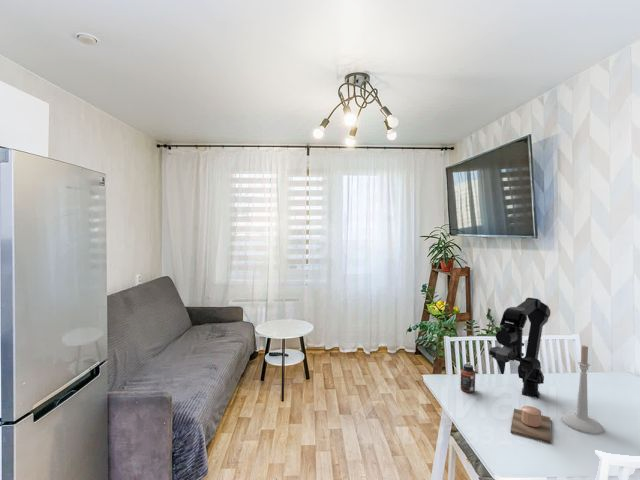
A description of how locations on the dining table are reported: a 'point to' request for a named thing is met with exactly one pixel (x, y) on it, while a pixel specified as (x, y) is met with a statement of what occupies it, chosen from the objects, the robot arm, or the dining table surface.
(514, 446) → the dining table surface
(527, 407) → the cap
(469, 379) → the supplement bottle
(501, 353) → the robot arm
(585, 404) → the candlestick
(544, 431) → the post board
